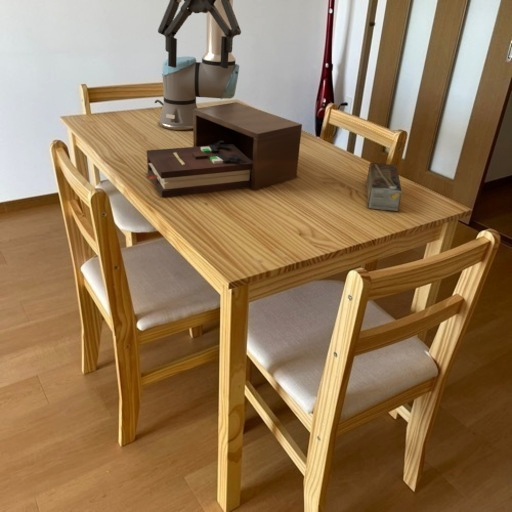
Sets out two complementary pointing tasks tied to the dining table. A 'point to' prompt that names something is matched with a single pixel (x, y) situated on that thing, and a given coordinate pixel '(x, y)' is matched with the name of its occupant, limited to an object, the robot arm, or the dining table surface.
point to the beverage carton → (383, 186)
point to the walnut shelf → (252, 139)
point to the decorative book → (198, 169)
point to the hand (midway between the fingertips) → (197, 67)
